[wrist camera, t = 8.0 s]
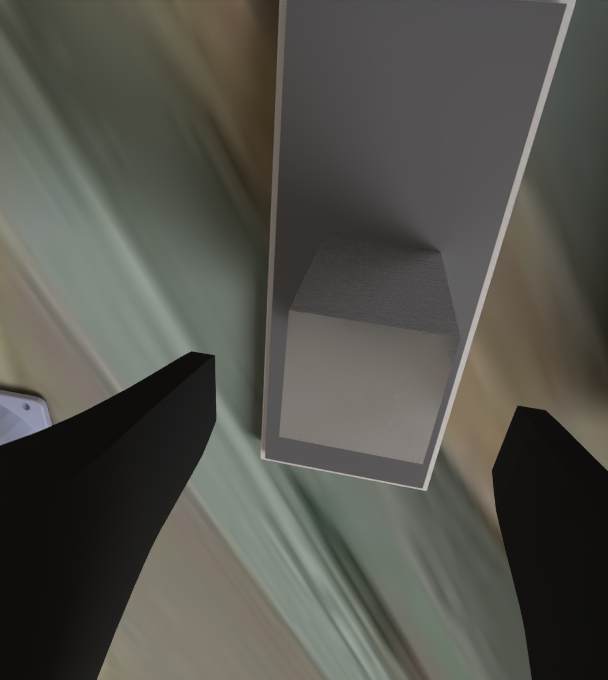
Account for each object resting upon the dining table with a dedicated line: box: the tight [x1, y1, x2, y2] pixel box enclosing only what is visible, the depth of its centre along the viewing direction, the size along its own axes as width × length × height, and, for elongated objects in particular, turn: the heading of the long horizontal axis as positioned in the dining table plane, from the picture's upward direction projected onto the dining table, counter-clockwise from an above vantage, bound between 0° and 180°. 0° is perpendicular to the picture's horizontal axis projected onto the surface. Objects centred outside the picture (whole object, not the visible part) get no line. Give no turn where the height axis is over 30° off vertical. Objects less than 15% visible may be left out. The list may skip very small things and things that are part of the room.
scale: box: [261, 0, 576, 491], centre depth 16 cm, size 8×23×3 cm, turn 176°
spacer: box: [279, 236, 461, 464], centre depth 14 cm, size 4×4×6 cm
